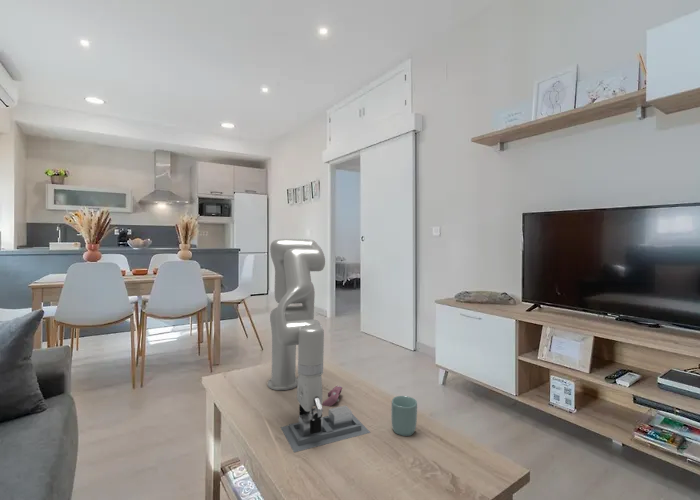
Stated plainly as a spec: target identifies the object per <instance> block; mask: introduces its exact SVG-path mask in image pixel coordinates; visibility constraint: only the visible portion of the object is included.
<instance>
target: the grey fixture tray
mask: <svg viewBox="0 0 700 500" xmlns="http://www.w3.org/2000/svg"><path fill="white" fill-rule="evenodd" d="M322 417H323V433H320V434H316V435H312V436H308V437H304V438H302V436H301V435H300V433H299V421H298V422H293V423H290V424H288V425H284V426H280V429H281V431H282V433H283V435H284V437H285V438H286V440H287V442H288V444H289V446H290V448H291V450H292V452H293V453H297V452H301V451H305V450H309V449H312V448H315V447H316V448H317V447H321V446H324V445H328V444H332V443H336V442H340V441H343V440H349V439H351V438H356V437H359V436H362V435H366V434H370V433H371V431H370V430H369V429H368V428H367V427H366V426H365V425H364V424H363V423H362V422H361V421H360V420H359V419H358V418H357V417H356V416H355V415H354V414H353V413H352V426H349V427H345V428H341V429H337V430H332V428H331V427H330V426H329V425H328V417H329V415H325V416H322Z"/></svg>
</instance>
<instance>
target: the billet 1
mask: <svg viewBox="0 0 700 500" xmlns="http://www.w3.org/2000/svg"><path fill="white" fill-rule="evenodd" d="M315 413H317V411H313V414H314V415H315ZM323 417H324V416H322V419H321V432H318V433H314V434H311V433H310V420H311V414H310V413H307V414H303V415H298V422H299V433H300V435H301V436H302V438H304V437H308V436H312V435H316V434H320V433H323Z"/></svg>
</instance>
